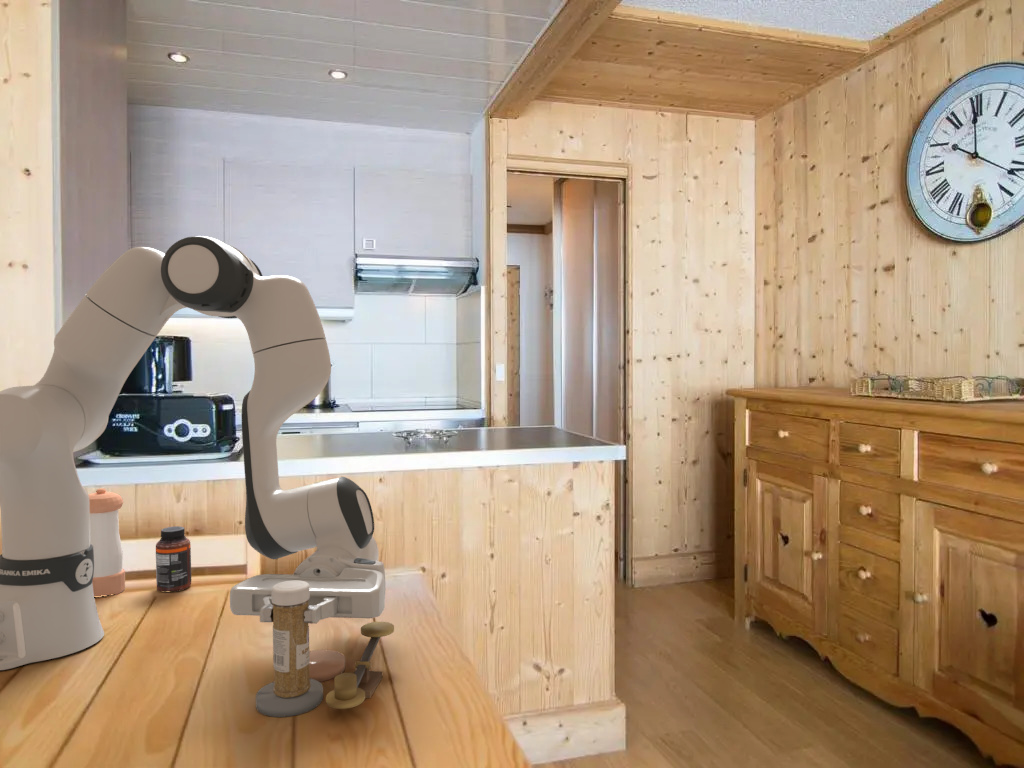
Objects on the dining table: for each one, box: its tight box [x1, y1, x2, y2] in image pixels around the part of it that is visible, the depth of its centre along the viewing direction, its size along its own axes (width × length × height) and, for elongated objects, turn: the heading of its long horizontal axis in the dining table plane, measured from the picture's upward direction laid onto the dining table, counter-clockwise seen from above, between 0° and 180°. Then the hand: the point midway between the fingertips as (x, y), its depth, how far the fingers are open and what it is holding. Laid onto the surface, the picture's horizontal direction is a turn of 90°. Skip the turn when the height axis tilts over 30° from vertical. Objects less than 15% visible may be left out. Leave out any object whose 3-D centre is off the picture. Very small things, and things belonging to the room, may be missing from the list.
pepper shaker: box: [88, 487, 126, 596], centre depth 131 cm, size 7×7×19 cm
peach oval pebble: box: [309, 649, 346, 683], centre depth 98 cm, size 8×8×1 cm
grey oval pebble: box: [255, 678, 324, 718], centre depth 89 cm, size 8×8×1 cm
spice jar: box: [271, 580, 311, 698], centre depth 89 cm, size 5×5×14 cm
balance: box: [325, 621, 395, 710], centre depth 93 cm, size 5×19×5 cm, turn 176°
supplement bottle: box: [155, 526, 192, 592], centre depth 133 cm, size 6×6×11 cm
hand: (287, 616), depth 88 cm, fingers open, 4 cm apart
